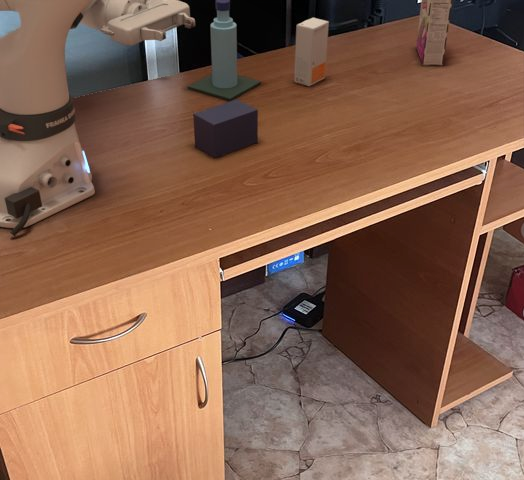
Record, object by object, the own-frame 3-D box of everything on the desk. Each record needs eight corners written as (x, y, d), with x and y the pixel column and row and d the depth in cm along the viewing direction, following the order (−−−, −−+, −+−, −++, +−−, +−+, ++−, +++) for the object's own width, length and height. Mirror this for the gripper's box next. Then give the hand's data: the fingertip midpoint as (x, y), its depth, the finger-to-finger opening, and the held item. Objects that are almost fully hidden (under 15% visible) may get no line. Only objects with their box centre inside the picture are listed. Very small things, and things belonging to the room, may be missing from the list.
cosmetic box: (310, 87, 165) (312, 28, 157) (293, 82, 167) (295, 24, 159) (326, 78, 168) (329, 20, 161) (309, 73, 170) (312, 16, 163)
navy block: (194, 146, 143) (193, 113, 139) (237, 131, 148) (236, 99, 144) (214, 158, 140) (213, 124, 136) (257, 142, 145) (257, 109, 141)
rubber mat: (230, 101, 159) (230, 98, 159) (187, 88, 164) (187, 86, 163) (260, 84, 166) (261, 81, 166) (219, 72, 171) (219, 69, 170)
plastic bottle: (217, 99, 164) (177, 39, 162) (232, 91, 168) (193, 32, 166) (257, 61, 153) (214, -4, 151) (272, 53, 156) (230, -10, 154)
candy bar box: (414, 48, 183) (423, -28, 172) (435, 48, 183) (446, -28, 172) (420, 66, 174) (431, -13, 164) (443, 66, 174) (455, -12, 164)
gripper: (93, 14, 162) (143, 27, 156) (159, -10, 174) (208, 1, 168) (97, 45, 166) (146, 59, 160) (161, 19, 178) (209, 31, 172)
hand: (178, 29), depth 164 cm, fingers open, 8 cm apart
